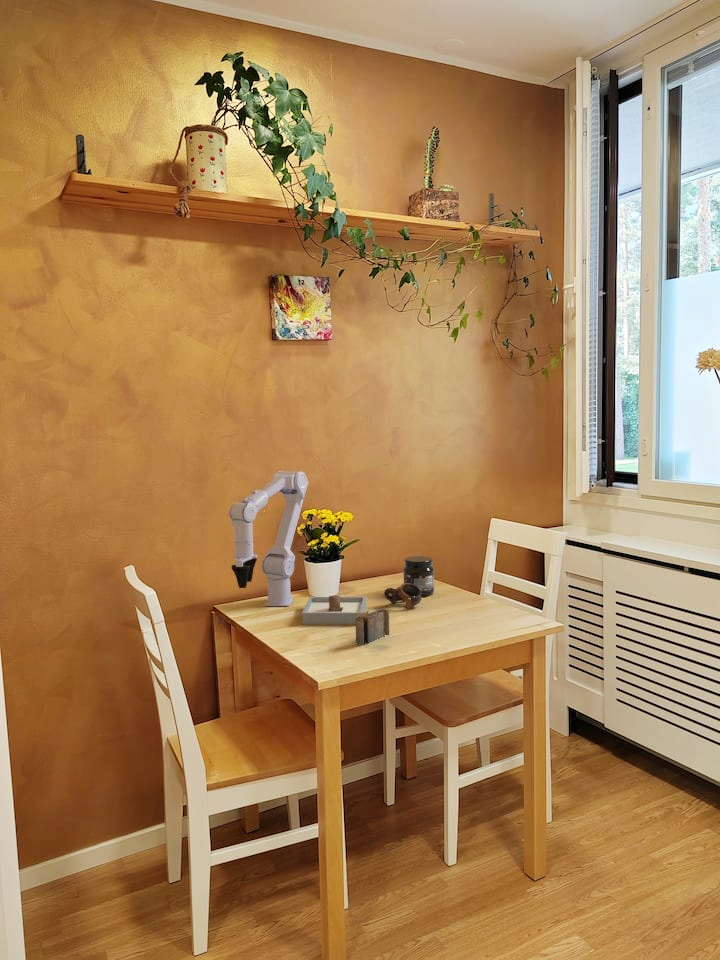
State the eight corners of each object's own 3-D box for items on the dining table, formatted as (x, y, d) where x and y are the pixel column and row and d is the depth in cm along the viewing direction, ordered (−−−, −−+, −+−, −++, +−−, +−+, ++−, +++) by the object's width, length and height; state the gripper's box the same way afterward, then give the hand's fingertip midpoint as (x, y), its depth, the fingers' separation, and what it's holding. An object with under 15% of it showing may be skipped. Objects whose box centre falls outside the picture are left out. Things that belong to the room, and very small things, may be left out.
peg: (329, 614, 228) (329, 595, 227) (340, 614, 228) (340, 595, 227) (329, 617, 225) (328, 598, 224) (340, 617, 224) (339, 598, 224)
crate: (310, 607, 236) (309, 596, 235) (366, 607, 235) (365, 596, 234) (302, 624, 218) (301, 613, 218) (362, 624, 217) (362, 613, 216)
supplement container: (406, 588, 257) (405, 555, 255) (436, 590, 254) (436, 556, 253) (400, 596, 246) (400, 561, 245) (432, 598, 244) (431, 562, 243)
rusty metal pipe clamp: (414, 601, 242) (422, 583, 238) (417, 621, 234) (425, 602, 230) (379, 594, 240) (387, 575, 236) (381, 614, 232) (388, 595, 228)
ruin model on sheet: (364, 647, 198) (363, 612, 197) (356, 645, 200) (355, 610, 199) (390, 636, 206) (390, 603, 205) (382, 634, 208) (381, 601, 207)
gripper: (251, 545, 218) (253, 590, 220) (261, 536, 233) (262, 578, 234) (228, 546, 219) (230, 590, 220) (239, 537, 233) (240, 578, 234)
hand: (245, 584), depth 227 cm, fingers open, 7 cm apart
